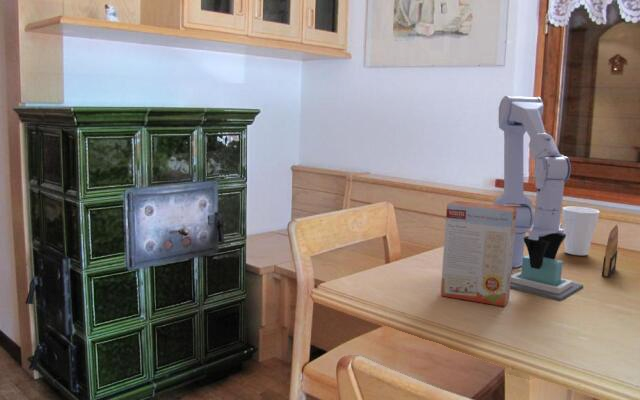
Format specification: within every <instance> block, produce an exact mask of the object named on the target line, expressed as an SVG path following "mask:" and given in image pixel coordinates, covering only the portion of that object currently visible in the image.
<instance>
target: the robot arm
mask: <svg viewBox="0 0 640 400" xmlns="http://www.w3.org/2000/svg"><path fill="white" fill-rule="evenodd" d="M543 113H544V102H543V100H542V98H541V97H540V96H536V97H531V96H510V95H504V96H503V97H502V99H500V103H499V106H498V128H499V130H501V131H503V141H504V142H503V143H504V144H503V145H504V146H503V147H504V148H503V149H504V154H503V155H504V157H503V161H504V162H503V163H504V164H503V166H504V167H503V169H504V170H503V171H504V172H503V183H504V184H503V193H502V194H501V195H500V196H499V197H497V198H496V199H495V200H494V201H493V204H492V205H499V206H505V205H507V206H508V207H516V208H517V212H516V224H515V237H514V248H513V259H512V268H514V269H515V268H519V267H522V260H523V257H524V254H525V253H524V252H525V246H526V248H527V252H528V255H529V259H530V266H531V268H535V269H540V268H541V266H542V263H543V258H544V257H545V258H550V259H555V260H556V257H557V254H558V252H559V248H560V247H561V245H562V243H563V241H564V238H565V237H566V234H564V228H563V223H562V222H561V216H562V209H563V198H564V189H565V183H566V182H567V181H568V180H569V179H570V176H571V172H572V167H571V165H572V164H571V162H570V158H569V157H568V156H564V154H561V153H560V151H559V148H558V147H557V144H556V142H555V140H554V138H553V136H552V135H550V134H548V133H547V132H546V130H545V126H544V123H543V119H542V116H543ZM526 133H527V135H528V136H529V139H530V140H529V143H528V148H529V150H530V153H531V155H532V157H533V160H534V162H535V165H534V167H533V168H534V169H533V171H534V177H535V181H534V184H535V188H536V198H535V207H533V206H534V205H533V201H532V200H531V199H530V197H528V196H527V195H525V193H524V137H525V134H526ZM526 233H528V235H526Z"/></svg>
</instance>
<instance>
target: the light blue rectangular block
mask: <svg viewBox="0 0 640 400" xmlns="http://www.w3.org/2000/svg"><path fill="white" fill-rule="evenodd" d="M563 262H564V261H563V260H559V259H556V258H555V259H550V258H545V257H544V258H543V263H542V266H541V268H540V269H535V268H531V266H530V259H529V254H527V255H525V256H524V255H523V260H522V266H521V271H520V272H521V278H522V279H526V280H530V281H535V282H539V283H543V284H547V285H552V286H556V287H557V286H559V285H560V282H561V278H562V272H563Z"/></svg>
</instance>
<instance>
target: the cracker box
mask: <svg viewBox="0 0 640 400" xmlns="http://www.w3.org/2000/svg"><path fill="white" fill-rule="evenodd" d="M508 206H509V205H503V206H499V205H493V204H488V203H480V202H479V203H478V202H472V201H458V200H453V201H451V202H449V203H447V205H446V214H445V217H446V218H445V229H444V241H443V255H442V272H441V285H440V287H441V288H440V296H441V297H445V298H446V297H447V298H453V299H458V300H463V301H464V300H465V301H470V302H475V303H483V304H486V305H487V304H489V305H493V306H498V307H505V306H506V305H507V304H508V302H509V300H510V295H511V294H510V293H511V288H510V283H511V276H512V269H513V267H512V259H513V248H514V237H515V224H516V212H517V208H516V207H508Z"/></svg>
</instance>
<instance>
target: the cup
mask: <svg viewBox="0 0 640 400" xmlns="http://www.w3.org/2000/svg"><path fill="white" fill-rule="evenodd" d="M561 214H562V217H563V229H564V234H566V237H565V238H564V240H563V241H564V253H566V254H570V255H573V256H587V255H588V254H589V251H590V247H591V244H592V241H593V238H594V233H595V229H596V227H597V223H598V219H599V217H600V210H598V209H595V208H593V207H592V208H591V207H585V206H571V205H570V206H568V205H567V206H562V208H561Z"/></svg>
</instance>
